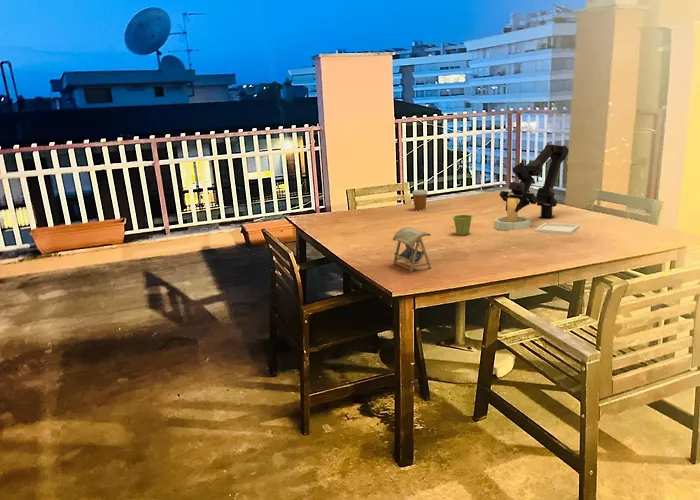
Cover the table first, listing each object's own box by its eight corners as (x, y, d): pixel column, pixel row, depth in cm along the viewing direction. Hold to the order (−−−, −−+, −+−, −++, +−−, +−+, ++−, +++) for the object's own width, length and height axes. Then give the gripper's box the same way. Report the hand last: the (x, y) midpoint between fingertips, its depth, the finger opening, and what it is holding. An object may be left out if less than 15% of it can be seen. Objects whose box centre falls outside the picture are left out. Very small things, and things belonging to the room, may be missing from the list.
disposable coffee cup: (429, 211, 326) (428, 191, 323) (413, 212, 326) (412, 192, 323) (427, 208, 335) (426, 189, 332) (411, 209, 335) (410, 190, 332)
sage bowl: (502, 223, 279) (502, 215, 278) (533, 225, 270) (533, 217, 269) (490, 229, 267) (490, 221, 266) (522, 232, 258) (522, 223, 257)
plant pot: (450, 235, 260) (450, 218, 258) (456, 231, 268) (455, 214, 266) (469, 236, 256) (469, 218, 254) (474, 232, 264) (474, 214, 262)
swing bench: (392, 264, 219) (390, 228, 215) (412, 260, 223) (411, 225, 219) (410, 272, 206) (409, 235, 202) (432, 268, 210) (431, 231, 206)
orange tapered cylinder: (514, 220, 271) (514, 197, 268) (519, 222, 266) (519, 198, 263) (505, 221, 270) (505, 198, 267) (510, 223, 265) (510, 199, 262)
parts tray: (545, 226, 266) (545, 222, 265) (579, 228, 256) (579, 224, 256) (534, 233, 253) (534, 229, 253) (570, 236, 244) (570, 231, 243)
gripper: (501, 175, 272) (488, 200, 268) (534, 176, 257) (520, 203, 254) (510, 188, 278) (497, 212, 275) (543, 190, 264) (530, 216, 260)
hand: (510, 211), depth 266 cm, fingers closed on orange tapered cylinder, 5 cm apart
